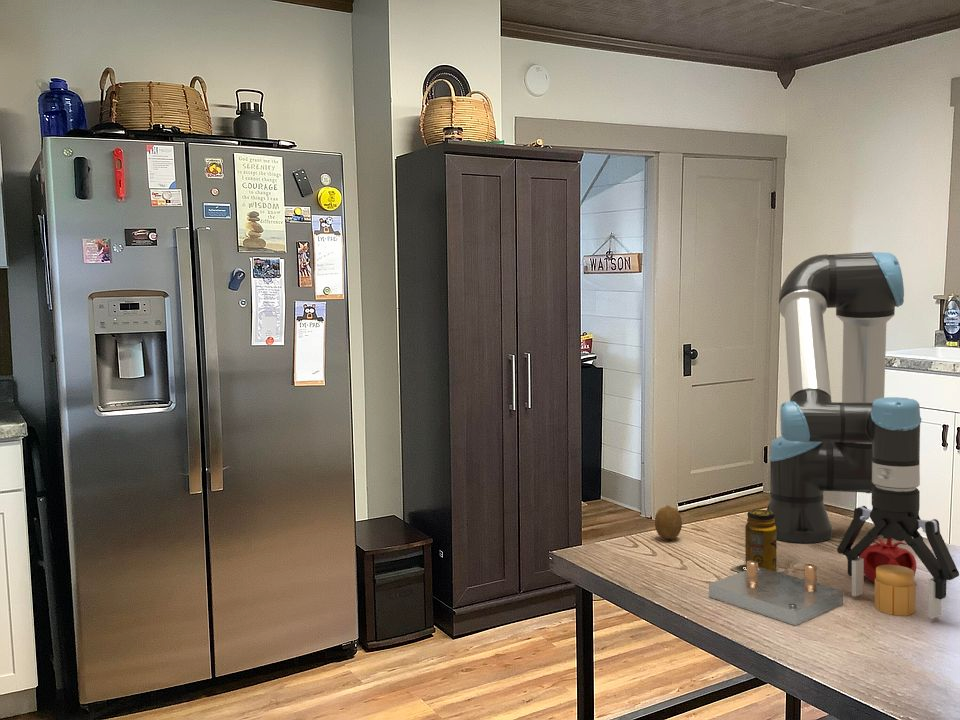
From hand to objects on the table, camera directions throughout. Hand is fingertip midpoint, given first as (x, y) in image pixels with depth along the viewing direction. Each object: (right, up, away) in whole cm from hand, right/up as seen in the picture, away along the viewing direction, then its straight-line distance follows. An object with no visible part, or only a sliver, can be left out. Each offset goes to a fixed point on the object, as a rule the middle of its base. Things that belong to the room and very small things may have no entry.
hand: (894, 604), depth 145 cm
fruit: (-30, +1, +45) cm, 54 cm away
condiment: (-17, 0, +23) cm, 28 cm away
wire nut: (0, -1, 0) cm, 1 cm away
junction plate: (-19, -1, +6) cm, 20 cm away
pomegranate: (+6, 0, +14) cm, 15 cm away
